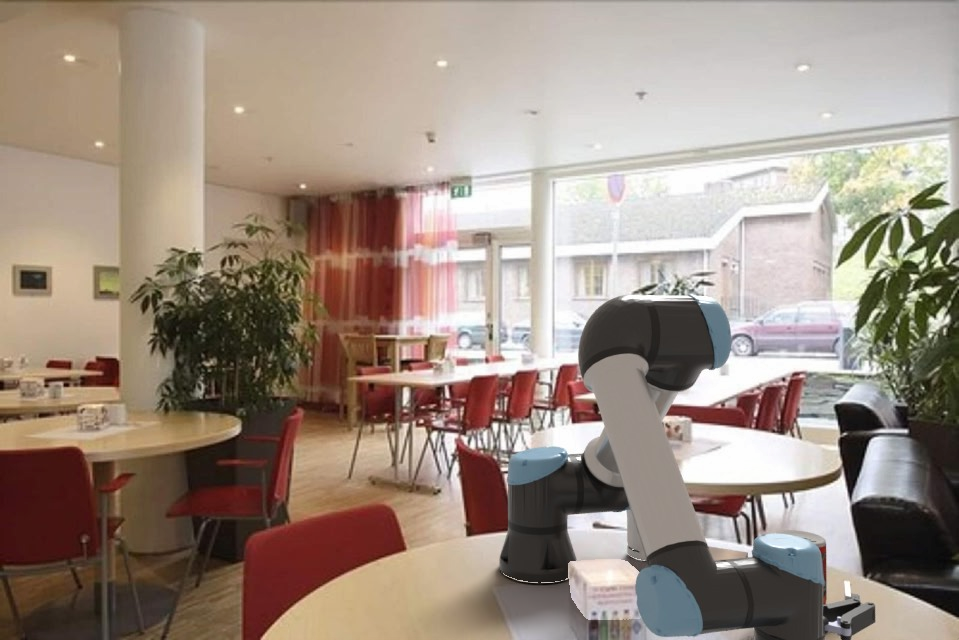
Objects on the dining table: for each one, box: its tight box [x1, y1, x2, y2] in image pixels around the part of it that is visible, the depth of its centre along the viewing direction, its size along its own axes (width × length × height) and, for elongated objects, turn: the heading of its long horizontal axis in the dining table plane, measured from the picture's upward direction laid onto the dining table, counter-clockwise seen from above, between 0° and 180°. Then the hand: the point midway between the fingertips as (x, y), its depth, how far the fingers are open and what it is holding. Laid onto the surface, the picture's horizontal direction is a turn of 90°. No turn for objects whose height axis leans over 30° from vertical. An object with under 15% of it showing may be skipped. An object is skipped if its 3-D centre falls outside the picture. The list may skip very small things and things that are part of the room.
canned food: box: [776, 529, 828, 605], centre depth 113 cm, size 8×8×11 cm
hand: (798, 581), depth 105 cm, fingers open, 13 cm apart
